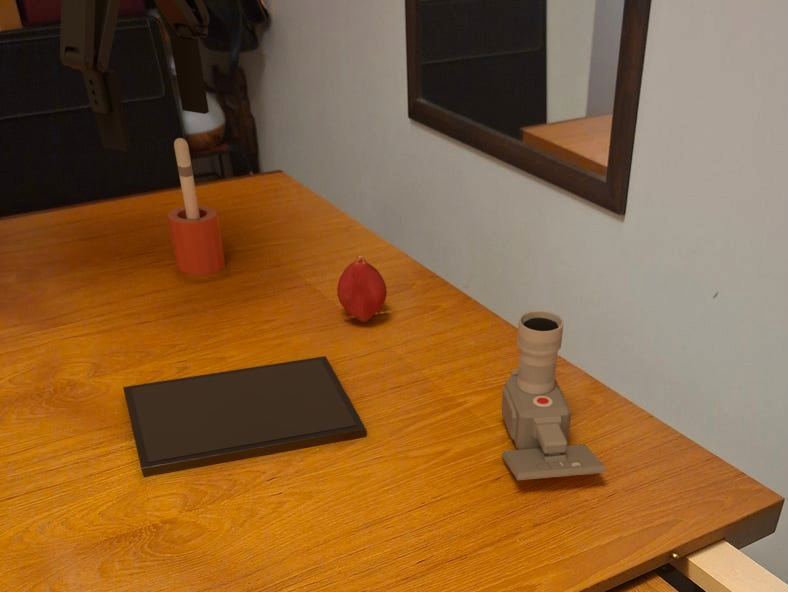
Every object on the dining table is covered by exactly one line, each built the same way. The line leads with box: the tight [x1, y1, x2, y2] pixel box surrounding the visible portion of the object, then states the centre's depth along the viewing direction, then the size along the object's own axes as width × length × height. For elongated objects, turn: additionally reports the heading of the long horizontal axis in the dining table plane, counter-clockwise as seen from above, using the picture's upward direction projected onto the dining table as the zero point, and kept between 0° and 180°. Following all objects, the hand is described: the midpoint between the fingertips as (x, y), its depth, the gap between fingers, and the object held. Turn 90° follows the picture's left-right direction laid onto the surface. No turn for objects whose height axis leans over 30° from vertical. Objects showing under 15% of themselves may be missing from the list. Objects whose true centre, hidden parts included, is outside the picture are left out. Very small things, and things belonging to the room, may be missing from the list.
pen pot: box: [167, 205, 226, 276], centre depth 116 cm, size 6×6×7 cm
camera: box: [501, 310, 608, 481], centre depth 87 cm, size 9×12×15 cm
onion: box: [336, 255, 388, 323], centre depth 107 cm, size 6×6×8 cm
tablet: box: [122, 355, 367, 478], centre depth 93 cm, size 16×22×1 cm
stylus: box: [173, 137, 200, 220], centre depth 112 cm, size 2×2×16 cm
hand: (158, 129), depth 89 cm, fingers open, 13 cm apart
